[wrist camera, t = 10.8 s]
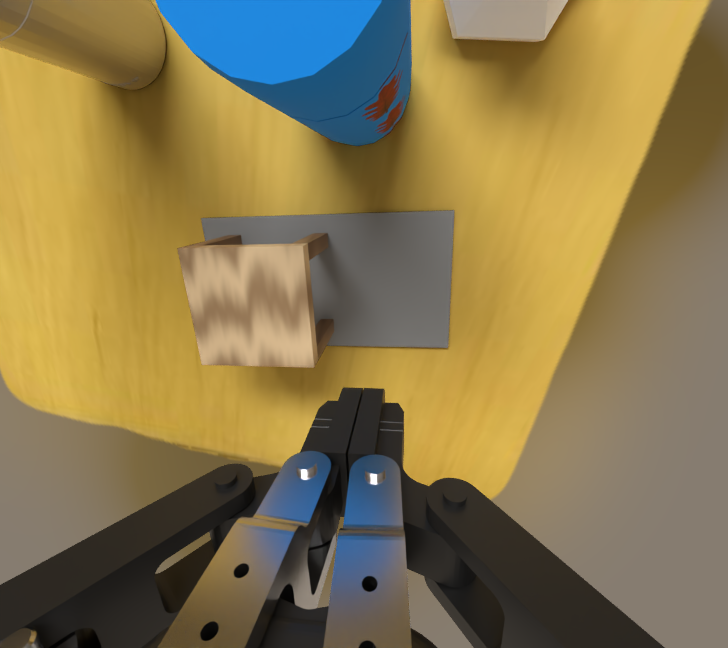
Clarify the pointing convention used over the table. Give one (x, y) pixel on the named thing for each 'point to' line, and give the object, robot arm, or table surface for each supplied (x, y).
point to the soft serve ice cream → (502, 19)
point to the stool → (254, 302)
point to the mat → (368, 271)
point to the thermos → (308, 57)
